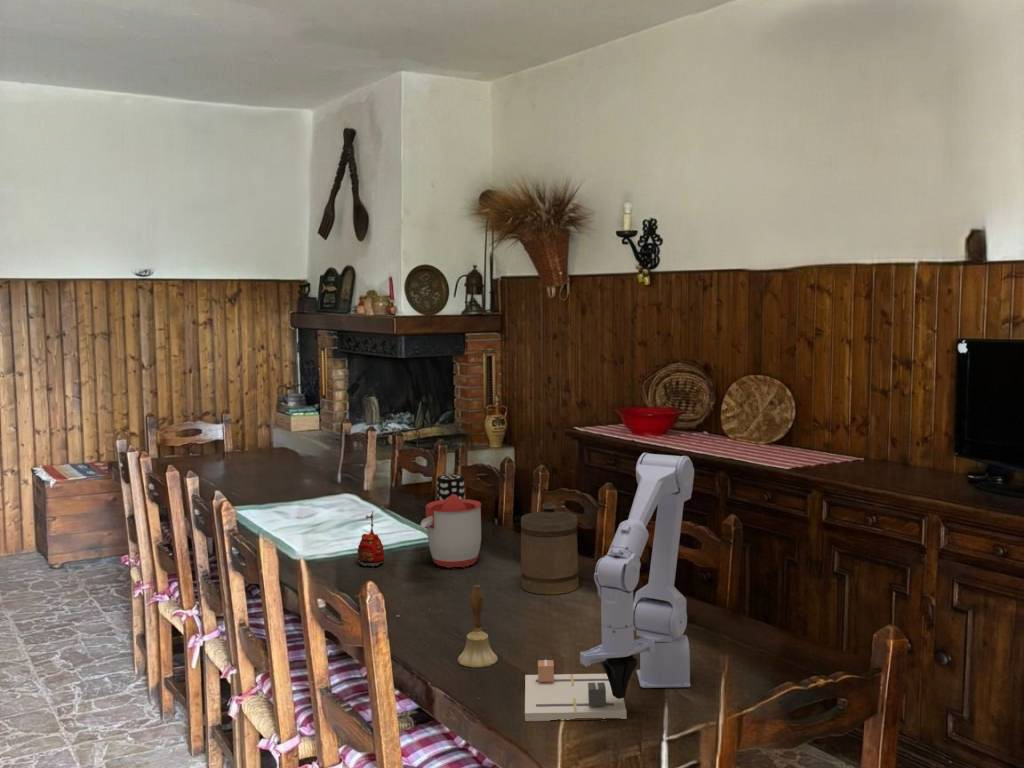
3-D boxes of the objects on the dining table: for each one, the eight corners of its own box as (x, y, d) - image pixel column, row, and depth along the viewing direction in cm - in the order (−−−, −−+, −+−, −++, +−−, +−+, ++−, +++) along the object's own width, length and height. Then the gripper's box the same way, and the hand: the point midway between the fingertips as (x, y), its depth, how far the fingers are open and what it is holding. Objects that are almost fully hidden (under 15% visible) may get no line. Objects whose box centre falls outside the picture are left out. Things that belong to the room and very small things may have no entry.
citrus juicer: (414, 561, 274) (411, 492, 272) (470, 553, 281) (468, 486, 279) (433, 575, 260) (430, 503, 258) (491, 566, 267) (490, 495, 265)
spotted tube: (436, 539, 298) (434, 475, 296) (462, 536, 301) (460, 473, 299) (442, 545, 290) (440, 480, 288) (469, 543, 293) (467, 478, 291)
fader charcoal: (604, 698, 175) (604, 682, 174) (605, 705, 172) (605, 688, 171) (588, 698, 175) (587, 682, 174) (589, 705, 172) (588, 689, 171)
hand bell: (497, 651, 204) (495, 578, 202) (498, 667, 196) (496, 590, 194) (458, 653, 204) (455, 579, 202) (457, 668, 195) (454, 592, 194)
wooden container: (579, 577, 255) (578, 496, 253) (577, 595, 240) (576, 509, 238) (523, 577, 256) (521, 496, 254) (518, 595, 241) (516, 509, 239)
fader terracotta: (553, 675, 186) (553, 659, 185) (554, 681, 183) (553, 665, 182) (538, 675, 186) (537, 660, 185) (538, 681, 183) (537, 666, 182)
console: (617, 680, 187) (617, 672, 187) (626, 719, 170) (626, 710, 170) (525, 682, 187) (525, 674, 187) (525, 721, 171) (524, 712, 170)
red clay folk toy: (354, 567, 270) (351, 515, 268) (364, 560, 276) (362, 509, 275) (378, 569, 268) (376, 516, 266) (389, 562, 274) (387, 510, 273)
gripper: (639, 609, 178) (640, 680, 180) (571, 623, 172) (572, 696, 173) (661, 621, 172) (661, 694, 173) (591, 635, 166) (592, 711, 167)
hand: (618, 696), depth 173 cm, fingers closed
